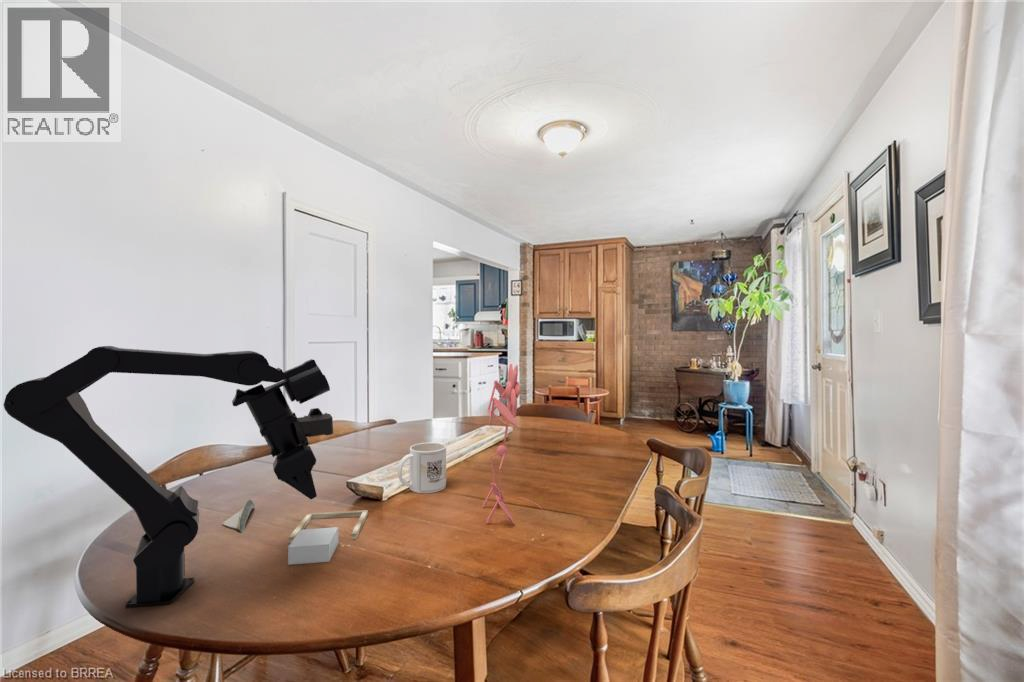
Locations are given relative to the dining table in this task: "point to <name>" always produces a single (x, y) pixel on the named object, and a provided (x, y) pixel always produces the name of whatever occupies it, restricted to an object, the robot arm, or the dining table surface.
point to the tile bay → (319, 515)
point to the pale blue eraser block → (313, 546)
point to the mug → (425, 467)
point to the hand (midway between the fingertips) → (311, 488)
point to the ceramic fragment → (240, 517)
